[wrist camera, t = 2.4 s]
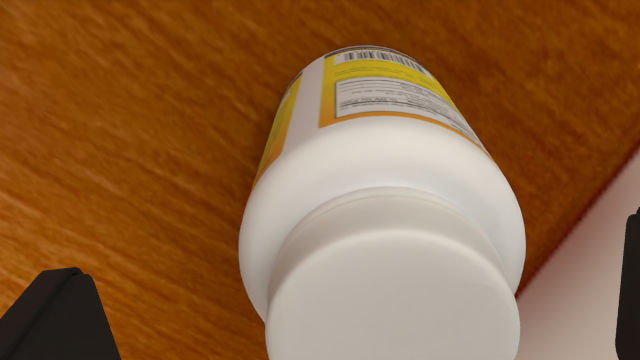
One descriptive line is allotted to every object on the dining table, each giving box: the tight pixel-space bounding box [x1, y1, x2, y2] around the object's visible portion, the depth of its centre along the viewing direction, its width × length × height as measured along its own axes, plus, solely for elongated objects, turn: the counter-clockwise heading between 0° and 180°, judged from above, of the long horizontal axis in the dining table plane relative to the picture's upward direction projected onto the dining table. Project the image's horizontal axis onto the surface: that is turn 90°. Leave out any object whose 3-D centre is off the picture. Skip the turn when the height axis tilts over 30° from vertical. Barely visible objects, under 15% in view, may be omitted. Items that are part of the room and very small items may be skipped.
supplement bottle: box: [239, 45, 526, 360], centre depth 13 cm, size 6×6×10 cm
